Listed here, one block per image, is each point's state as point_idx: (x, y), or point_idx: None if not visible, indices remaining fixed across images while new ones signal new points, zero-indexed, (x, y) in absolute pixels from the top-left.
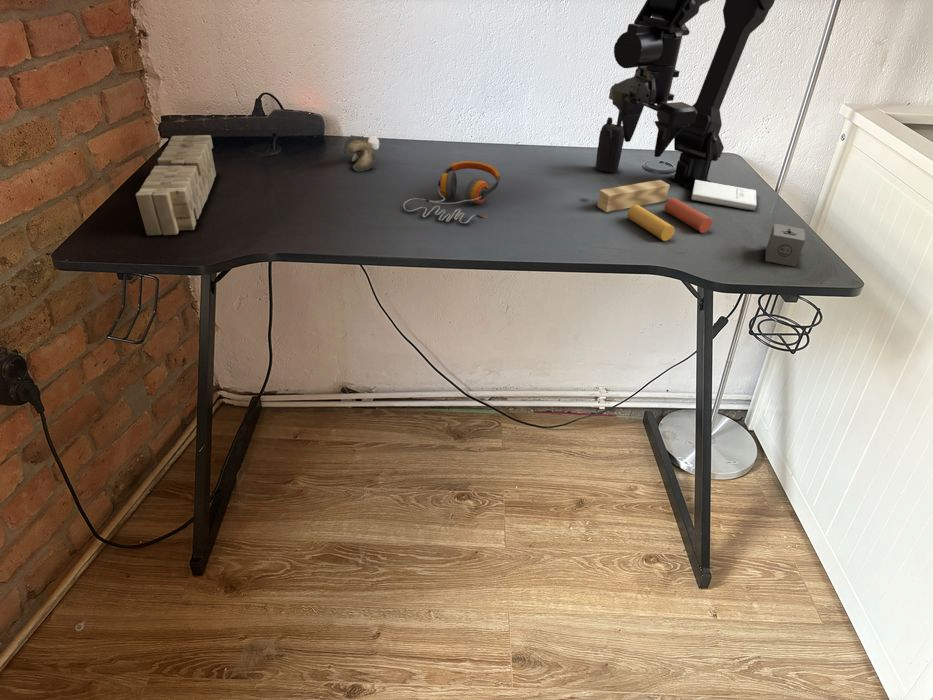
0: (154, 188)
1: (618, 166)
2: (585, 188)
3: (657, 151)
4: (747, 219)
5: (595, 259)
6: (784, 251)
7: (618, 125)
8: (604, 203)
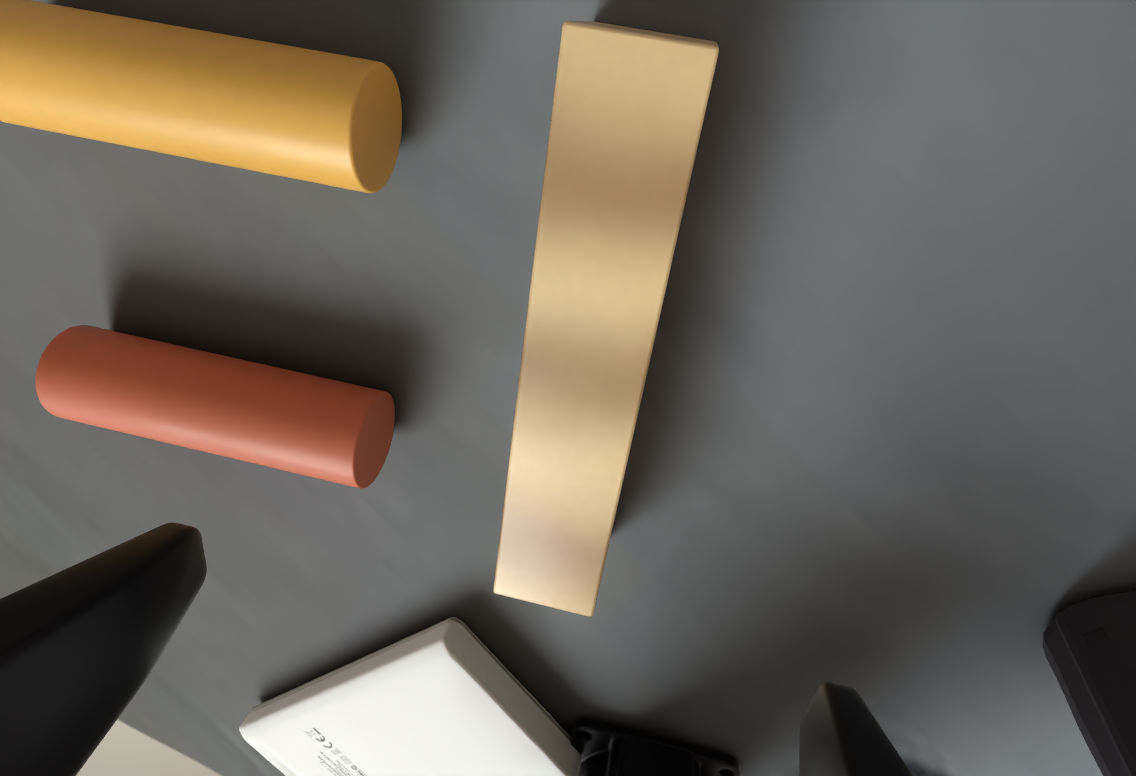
0: None
1: (1059, 683)
2: (1048, 245)
3: (85, 563)
4: (198, 624)
5: None
6: None
7: None
8: (621, 27)
